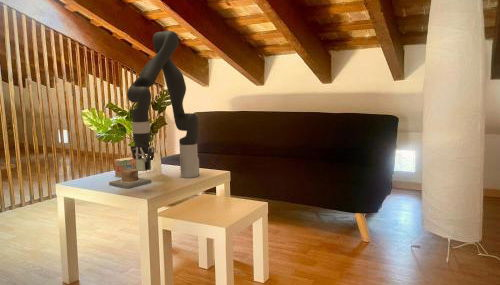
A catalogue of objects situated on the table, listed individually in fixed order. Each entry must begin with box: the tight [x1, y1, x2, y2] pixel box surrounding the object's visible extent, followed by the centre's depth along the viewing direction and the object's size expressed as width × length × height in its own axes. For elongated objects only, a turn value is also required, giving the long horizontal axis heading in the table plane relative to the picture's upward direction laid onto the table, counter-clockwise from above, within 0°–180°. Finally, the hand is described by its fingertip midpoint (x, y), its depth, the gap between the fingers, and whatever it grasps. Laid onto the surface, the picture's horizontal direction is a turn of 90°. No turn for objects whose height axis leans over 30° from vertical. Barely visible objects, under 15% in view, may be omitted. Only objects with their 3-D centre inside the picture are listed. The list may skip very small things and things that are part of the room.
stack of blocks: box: [114, 151, 137, 179], centre depth 215 cm, size 21×6×12 cm, turn 141°
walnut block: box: [121, 169, 139, 183], centre depth 192 cm, size 6×6×5 cm
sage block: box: [136, 158, 151, 171], centre depth 178 cm, size 4×4×5 cm
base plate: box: [108, 177, 152, 190], centre depth 192 cm, size 14×14×2 cm
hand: (143, 168), depth 178 cm, fingers closed on sage block, 4 cm apart
